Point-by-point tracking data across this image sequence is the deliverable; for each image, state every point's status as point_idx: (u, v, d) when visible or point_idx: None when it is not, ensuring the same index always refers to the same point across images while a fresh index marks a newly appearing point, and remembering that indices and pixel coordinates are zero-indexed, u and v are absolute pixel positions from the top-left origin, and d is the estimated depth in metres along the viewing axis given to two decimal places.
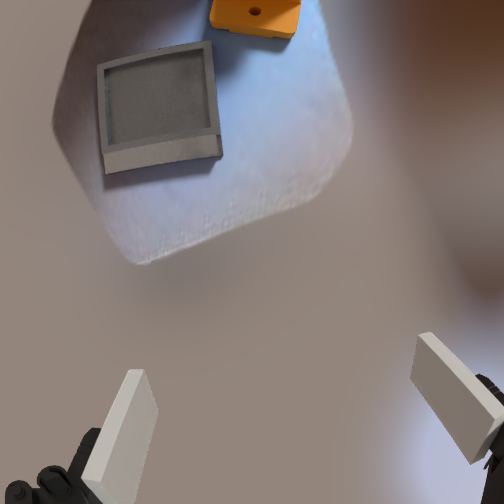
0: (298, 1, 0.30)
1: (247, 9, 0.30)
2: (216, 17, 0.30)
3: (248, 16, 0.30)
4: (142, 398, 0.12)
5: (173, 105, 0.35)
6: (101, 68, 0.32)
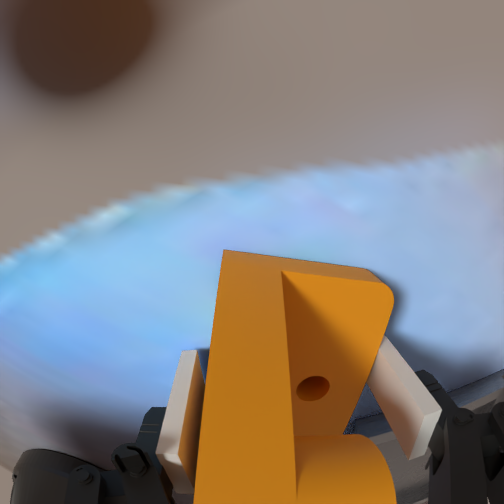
0: None
1: (306, 404, 0.13)
2: None
3: (329, 399, 0.13)
4: (197, 377, 0.14)
5: None
6: None
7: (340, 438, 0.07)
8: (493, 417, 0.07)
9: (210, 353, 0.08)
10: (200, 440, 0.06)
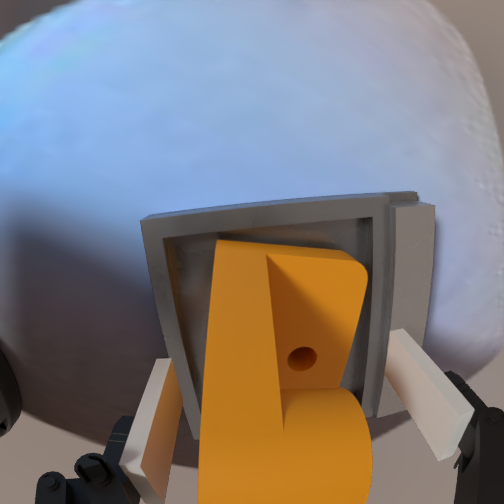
0: None
1: (297, 374, 0.16)
2: None
3: (318, 369, 0.16)
4: (171, 386, 0.13)
5: None
6: None
7: (321, 388, 0.10)
8: None
9: (209, 319, 0.10)
10: (203, 385, 0.08)
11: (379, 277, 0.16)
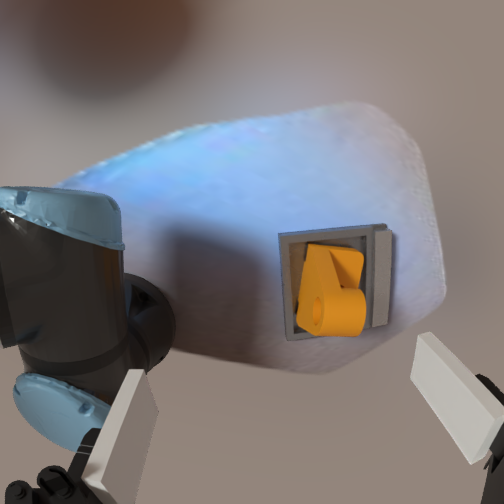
0: None
1: None
2: None
3: None
4: (142, 398, 0.12)
5: None
6: (292, 336, 0.43)
7: None
8: None
9: (317, 267, 0.35)
10: (321, 282, 0.33)
11: (369, 259, 0.41)
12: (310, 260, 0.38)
